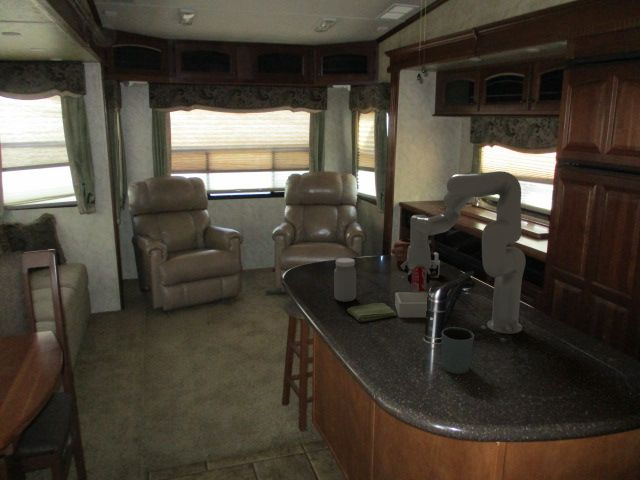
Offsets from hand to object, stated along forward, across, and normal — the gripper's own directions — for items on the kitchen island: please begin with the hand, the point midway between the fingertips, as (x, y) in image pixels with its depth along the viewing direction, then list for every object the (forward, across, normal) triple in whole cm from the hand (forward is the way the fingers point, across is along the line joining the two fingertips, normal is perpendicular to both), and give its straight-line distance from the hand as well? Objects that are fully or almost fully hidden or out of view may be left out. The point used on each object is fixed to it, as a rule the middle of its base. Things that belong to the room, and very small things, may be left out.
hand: (418, 282), depth 235 cm
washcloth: (+8, +22, +18) cm, 30 cm away
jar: (+7, +33, -1) cm, 33 cm away
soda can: (+4, 0, 0) cm, 4 cm away
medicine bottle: (+7, -12, -36) cm, 38 cm away
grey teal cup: (+9, -1, +66) cm, 67 cm away
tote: (+8, +5, +15) cm, 18 cm away
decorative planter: (+7, -3, -55) cm, 55 cm away
